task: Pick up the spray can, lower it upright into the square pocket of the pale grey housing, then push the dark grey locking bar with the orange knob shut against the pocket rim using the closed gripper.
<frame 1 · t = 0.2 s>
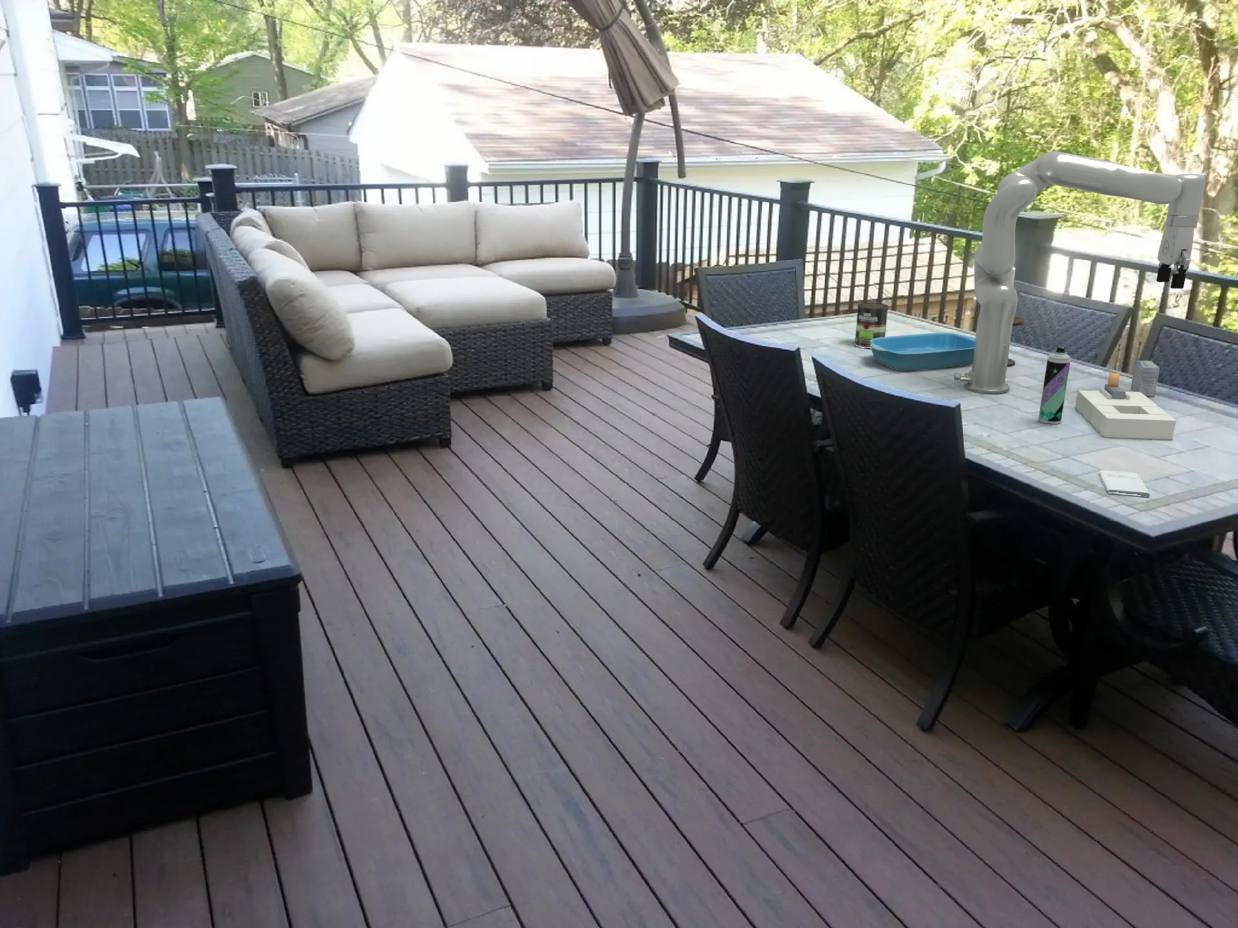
hand: (1169, 285, 266), 31 cm above the table, tool pointing down, fingers open, 9 cm apart
medicine box: (1142, 393, 277), on the table
external hard drive: (1122, 488, 212), on the table
housing: (1123, 424, 251), on the table
locking bar: (1115, 385, 257), point 8 cm above the table, slide at 0.0 cm
casserole dish: (923, 363, 312), on the table
coffee can: (869, 346, 334), on the table
candlestick: (999, 364, 310), on the table
spray can: (1049, 421, 254), on the table
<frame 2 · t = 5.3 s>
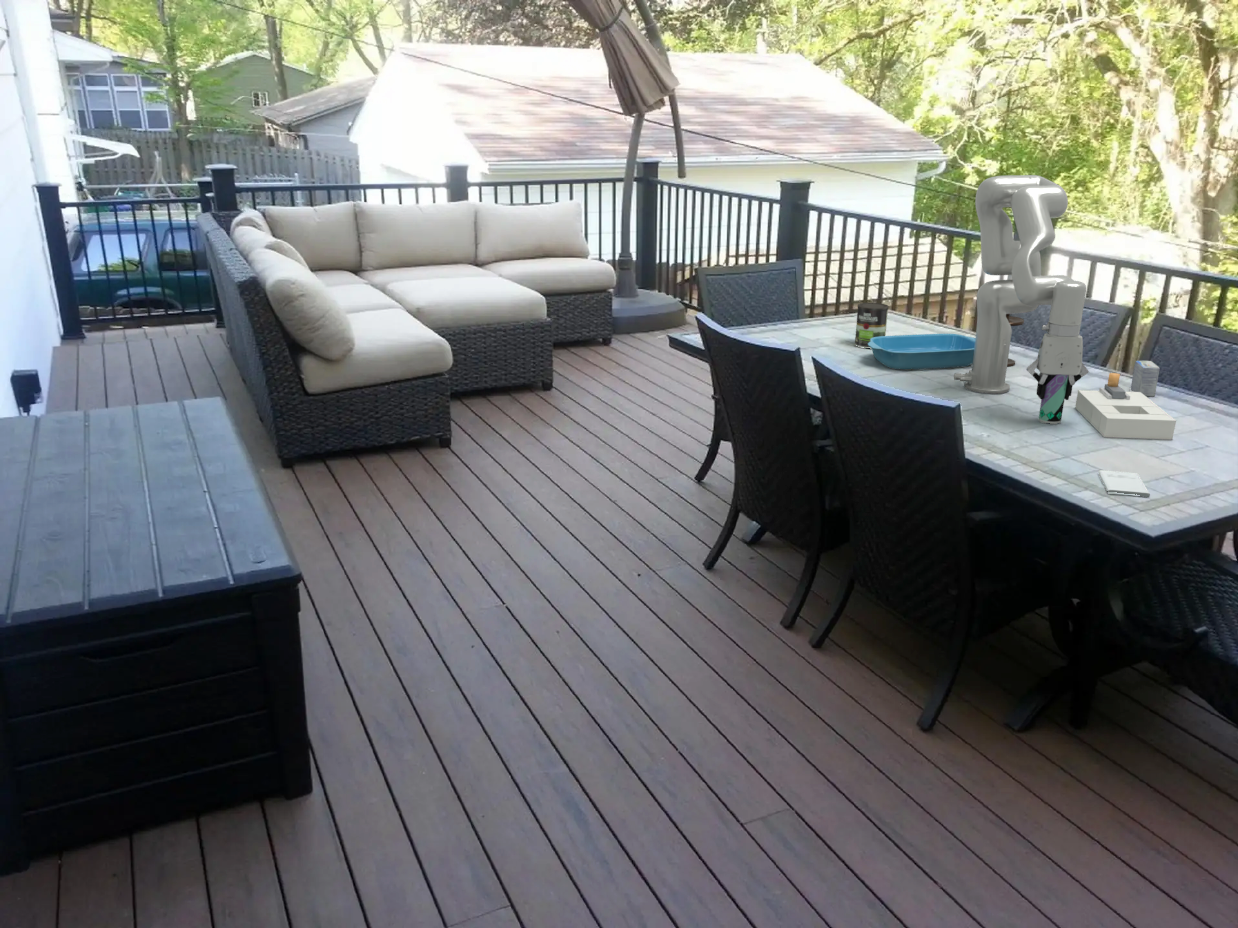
hand: (1053, 397, 252), 7 cm above the table, tool pointing down, fingers closed on spray can, 5 cm apart
spray can: (1049, 421, 254), on the table, touching gripper
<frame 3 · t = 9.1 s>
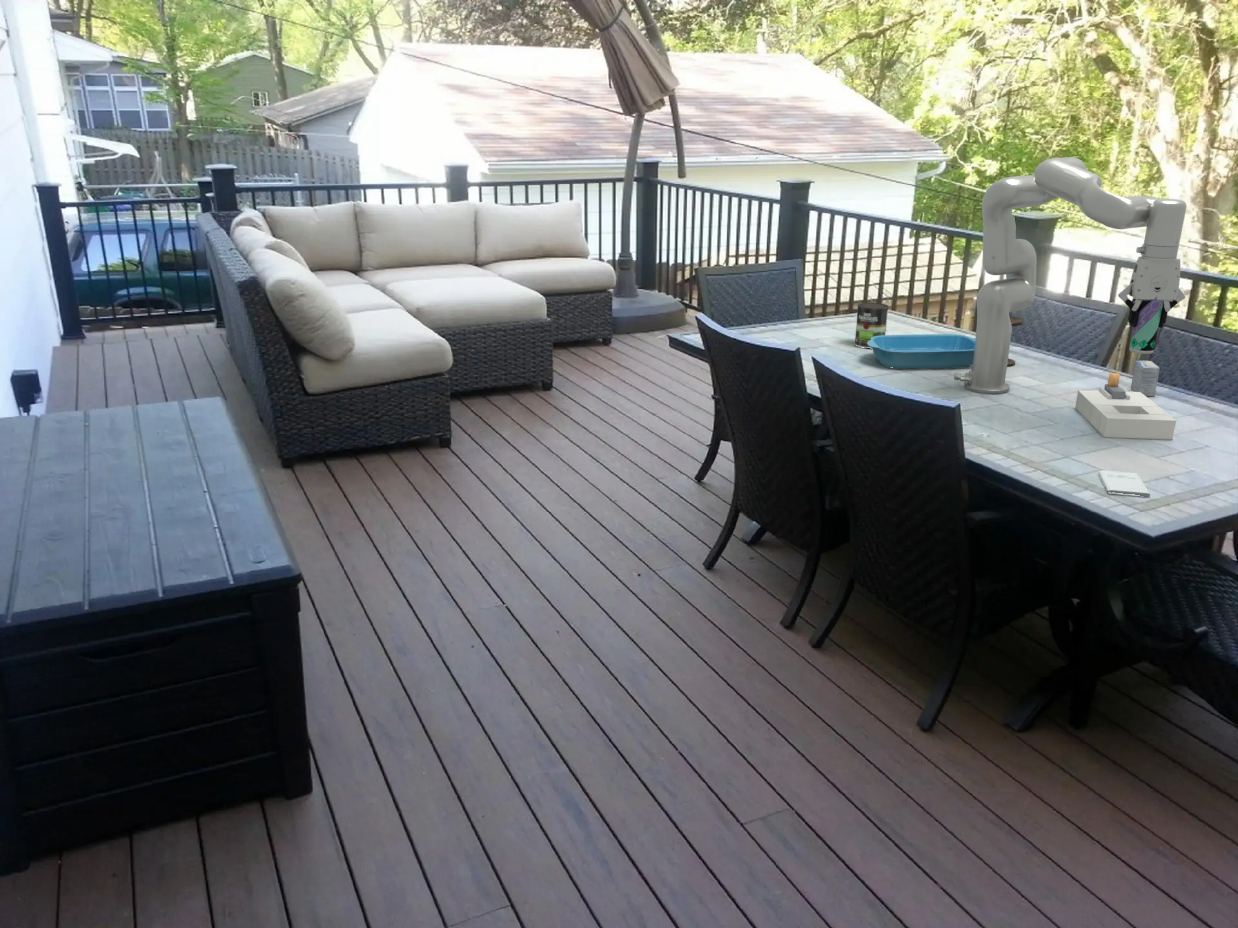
hand: (1145, 325, 238), 27 cm above the table, tool pointing down, fingers closed on spray can, 5 cm apart
spray can: (1141, 351, 241), point 20 cm above the table, touching gripper
when the fingers open (8 cm above the table, at t = 13.3 s): spray can drops 2 cm, resting in housing.
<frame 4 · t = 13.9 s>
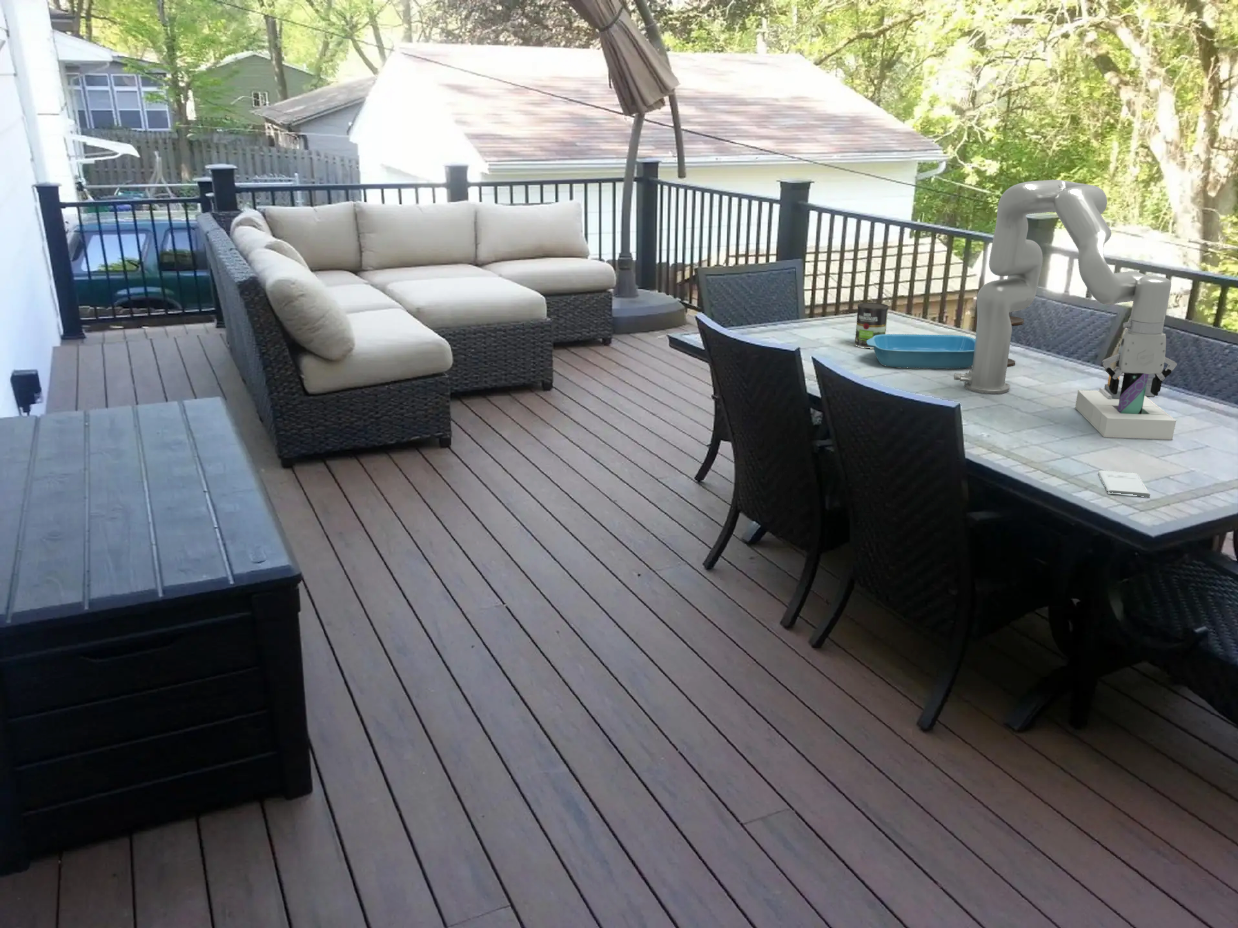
hand: (1133, 393, 244), 9 cm above the table, tool pointing down, fingers open, 9 cm apart
spray can: (1126, 428, 248), resting in housing
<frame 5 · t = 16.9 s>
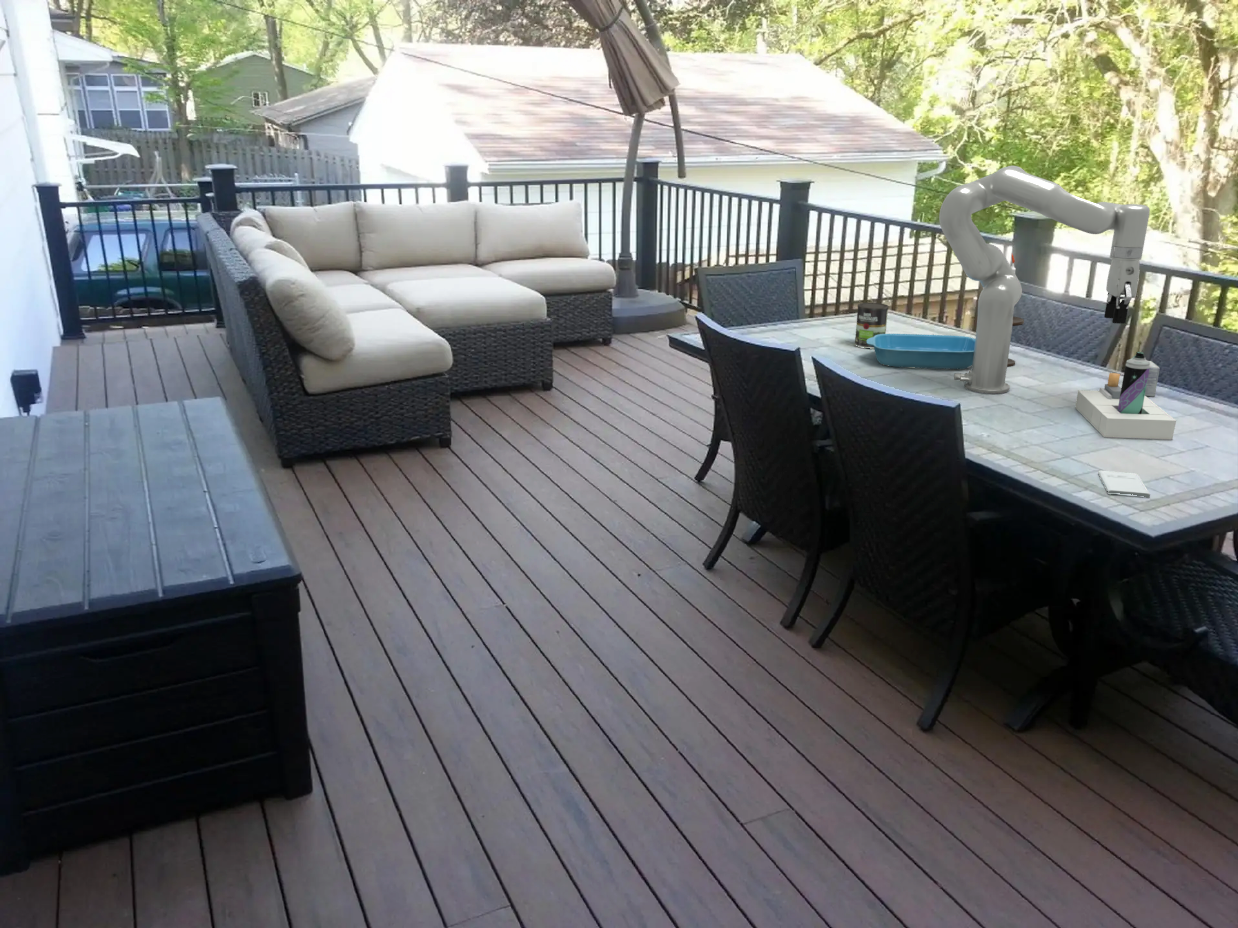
hand: (1114, 320, 260), 24 cm above the table, tool pointing down, fingers open, 5 cm apart
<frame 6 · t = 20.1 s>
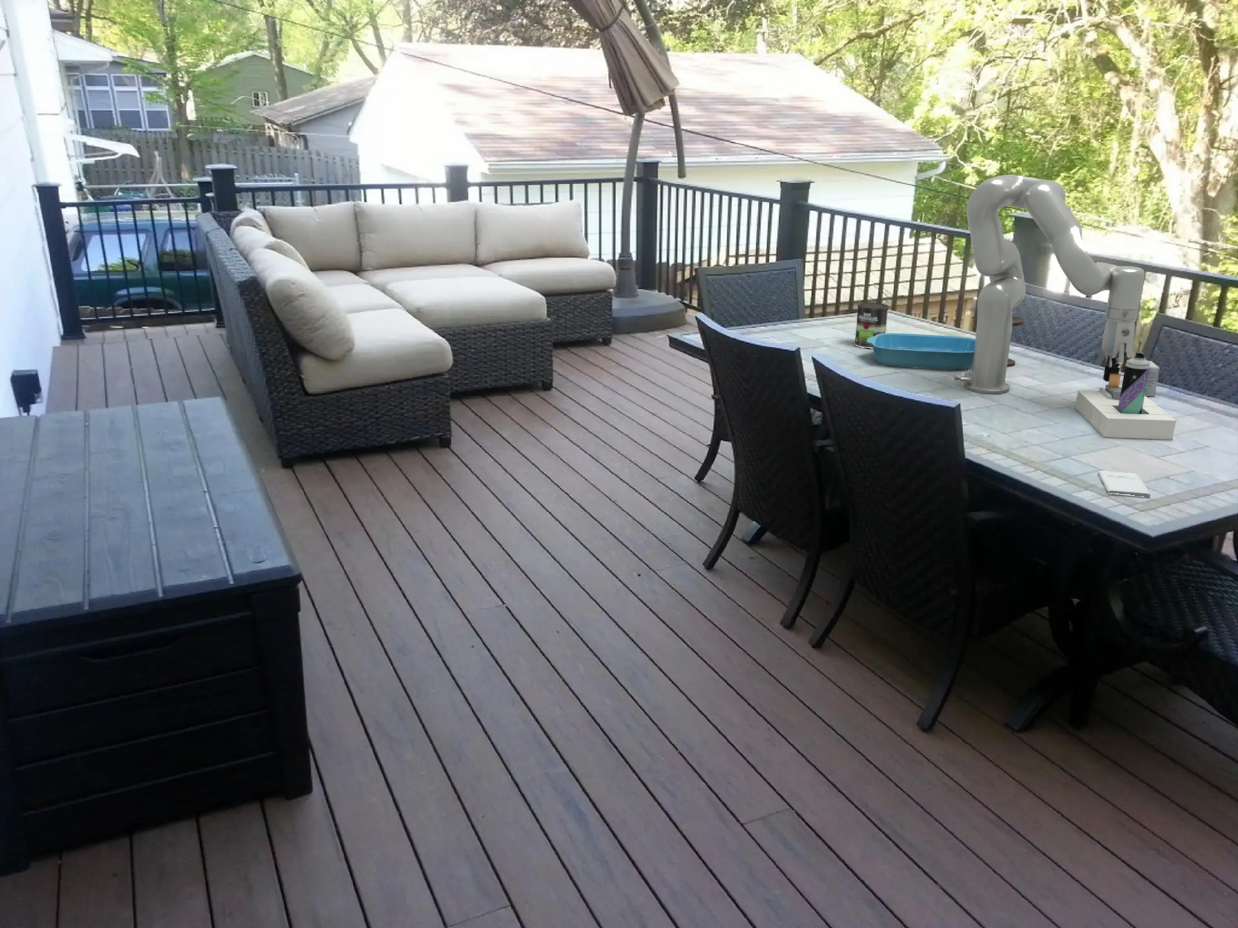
hand: (1110, 380, 262), 8 cm above the table, tool pointing down, fingers closed
locking bar: (1116, 386, 256), point 8 cm above the table, slide at 0.6 cm, touching gripper
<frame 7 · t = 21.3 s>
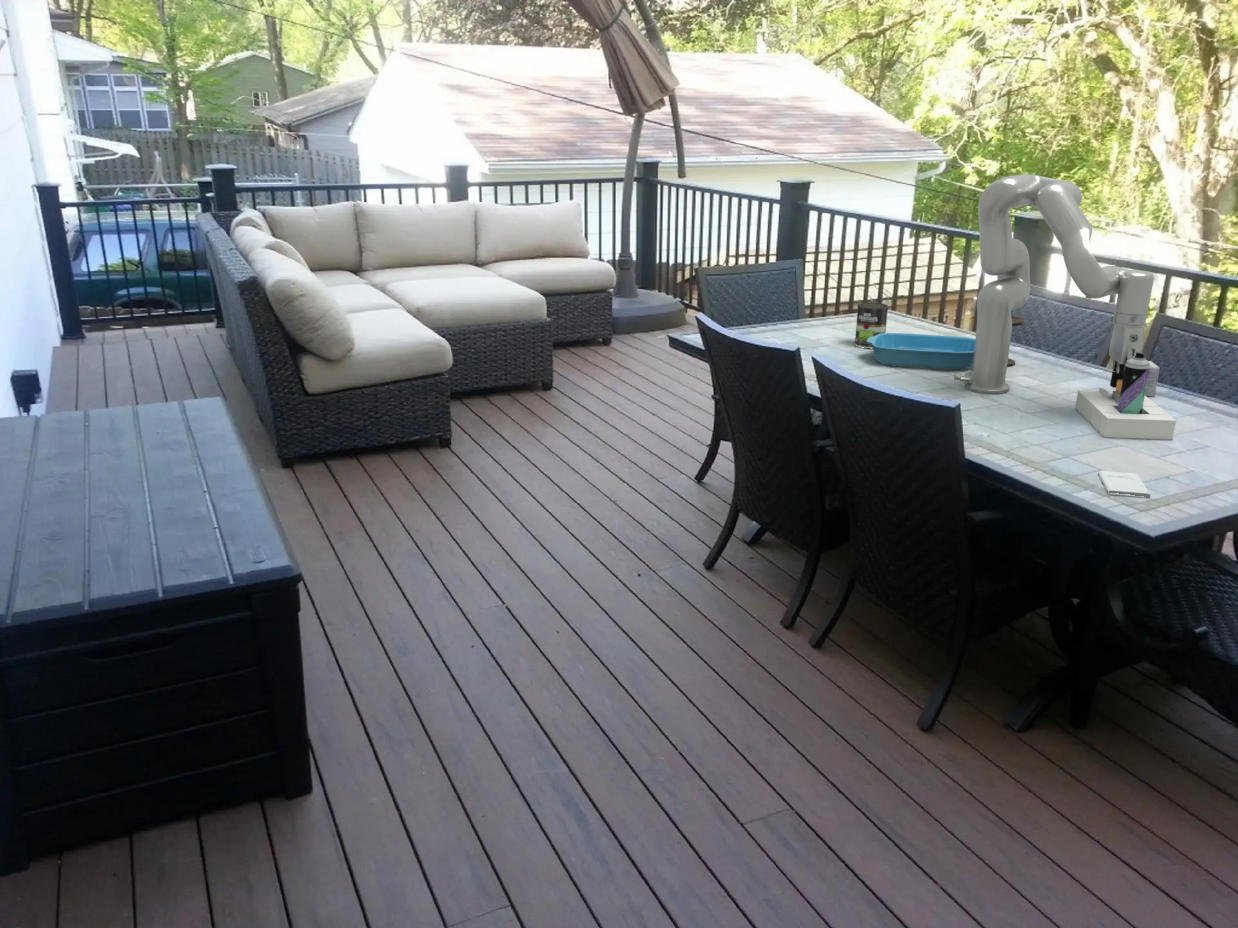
hand: (1117, 386, 256), 8 cm above the table, tool pointing down, fingers closed
locking bar: (1123, 392, 251), point 8 cm above the table, slide at 6.5 cm, touching gripper
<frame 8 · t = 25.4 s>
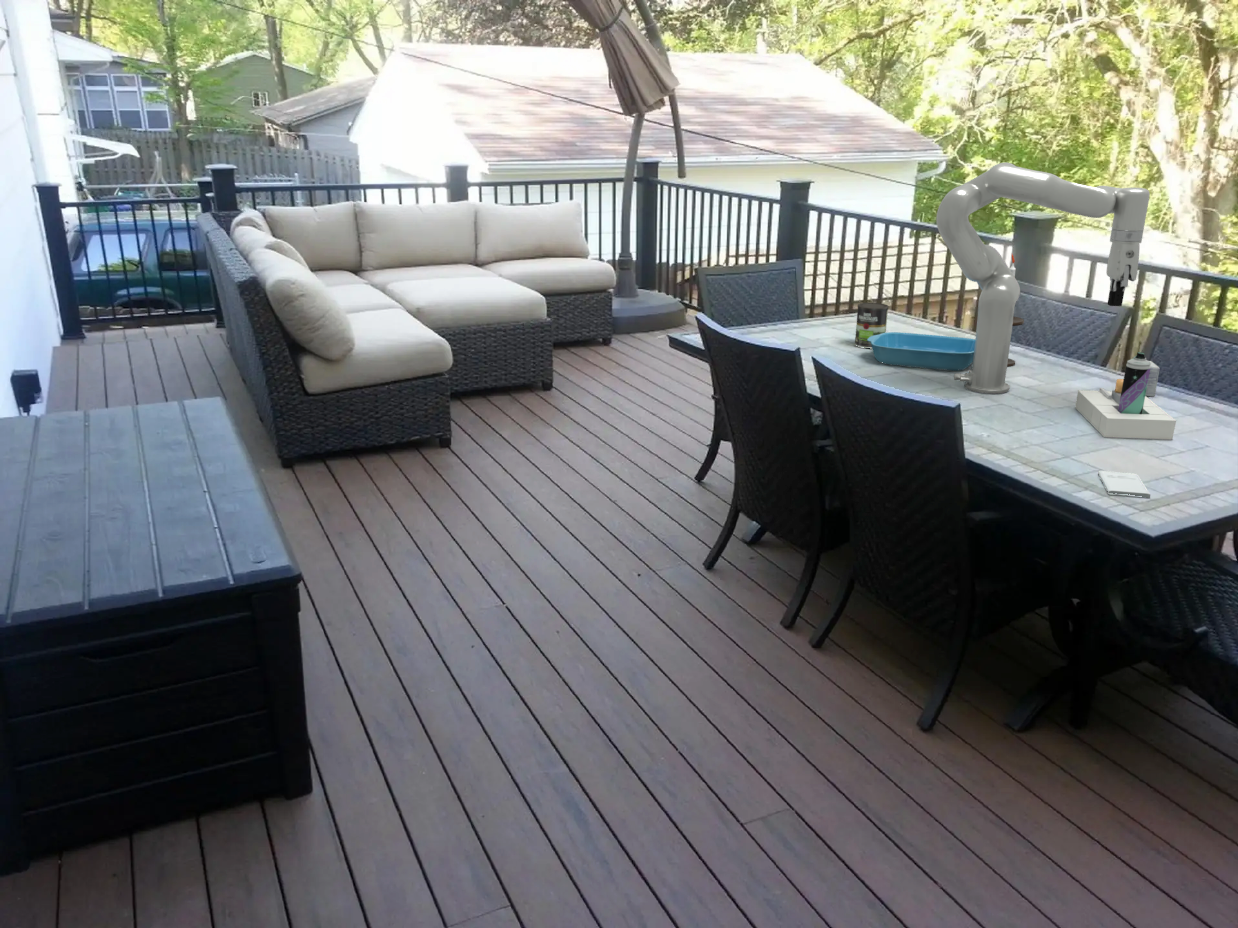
hand: (1114, 305, 260), 27 cm above the table, tool pointing down, fingers closed
locking bar: (1123, 392, 251), point 8 cm above the table, slide at 6.0 cm
at the end: spray can 0.2 cm from the target spot on the housing, point 0.0 cm above the housing's base; spray can tilted 0°; locking bar slide at 6.0 cm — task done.
